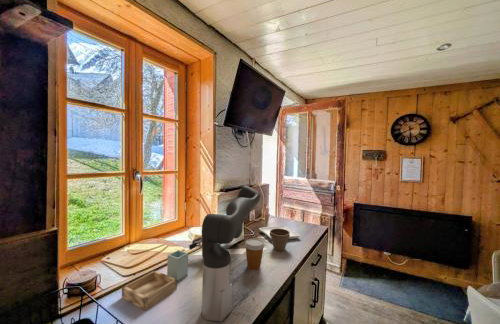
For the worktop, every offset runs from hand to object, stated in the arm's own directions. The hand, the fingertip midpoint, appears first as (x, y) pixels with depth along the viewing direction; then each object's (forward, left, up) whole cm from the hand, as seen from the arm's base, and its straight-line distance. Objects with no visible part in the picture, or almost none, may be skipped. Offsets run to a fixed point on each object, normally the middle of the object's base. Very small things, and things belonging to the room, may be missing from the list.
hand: (196, 249), depth 106 cm
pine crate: (0, +25, -8) cm, 26 cm away
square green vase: (0, +12, -8) cm, 14 cm away
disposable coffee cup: (-24, -14, -8) cm, 29 cm away
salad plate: (-19, -60, -8) cm, 63 cm away
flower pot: (-27, -40, -8) cm, 49 cm away
